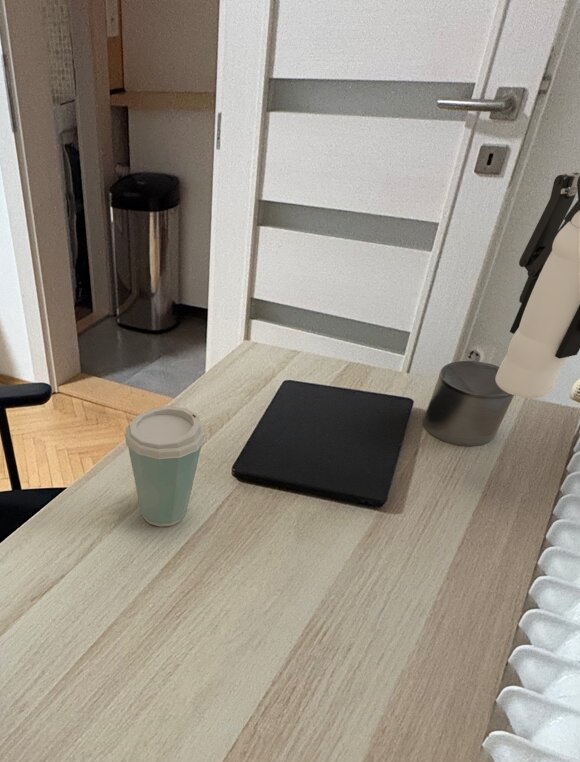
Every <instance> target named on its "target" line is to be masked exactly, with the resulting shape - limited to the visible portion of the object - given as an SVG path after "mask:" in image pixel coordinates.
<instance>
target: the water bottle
mask: <svg viewBox="0 0 580 762" xmlns="http://www.w3.org/2000/svg"><path fill="white" fill-rule="evenodd" d="M571 223H572V224H573V225H572V224H571ZM575 226H576V227H575ZM579 305H580V211H578V212H577V213H576V214H575V215H574V216H573V218H572V220H571V221H569V222H568V223H567V224H566V225H565V226H564V227H563V228H562V229H561V230H560V231H559V233H558V234H557V236H556V237H555V239H554V242H553V245H552V251H551V253H550V255H549V257H548V259H547V261H546V263H545V265H544V267H543V269H542V271H541V273H540V275H539V277H538V279H537V282H536V284H535V286H534V289H533V291H532V293H531V296H530V298H529V300H528V303H527V305H526V308H525V311H524V313H523V316H522V319H521V322H520V325H519V328H518V329H517V331H516V332H515V334H513V336H512V338H511V340H510V342H509V345H508V348H507V351H506V354H505V356H504V358H503V359H502V361H501V363H500V366H498V367H499V370H498V372H497V374H496V378H495V381H496V383H497V385H498V386H499V387H500V388H501V389H502V390H503V391H505V392H507V393H509V394H512V395H514V397H515V396H516V397H520V398H527V399H534V398H540V397H544V396H546V395H548V394H550V393H551V392H552V391H553V390H554V387H555V386H556V383H557V381H558V379H559V377H560V374H561V372H562V369H563V367H564V365H565V363H566V362H567V360H568V359H569V357H565V358H560V359H559V358H557V357H555V354H556V352H557V350H558V348H559V346H560V344H561V342H562V340H563V338H564V336H565V334H566V332H567V330H568V328H569V326H570V324H571V322H572V320H573V318H574V316H575V314H576V311H577V309H578V307H579Z"/></svg>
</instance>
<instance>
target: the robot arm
mask: <svg viewBox="0 0 580 762" xmlns="http://www.w3.org/2000/svg"><path fill="white" fill-rule="evenodd" d="M576 195H577V200H576V202H575V204H574V205H573V202H574V201H575V198H576ZM572 205H573V206H572ZM570 208H571V209H570ZM578 211H580V173H579V172H571V173H564V174H559V175H556V177H555V179H554V181H553V184H552V188H551V193H550V198H549V199H548V202H547V203H546V206H545V208H544V210H543V212H542V214H541V216H540V217H539V219H538V222H537V224H536V226H535V228H534V230H533V232H532V234H531V236H530V238H529V241H528V242H527V244H526V246H525V248H524V250H523V253H522V254H521V256H520V258H519V261H518V265H519V267H521V268H525V270H526V271H527V279H526V281H525V283H524V286H523V289H522V290H521V293H520V295H519V300H518V301H519V303H520V306H519V309H518V311H517V312H516V313H517V314H516V316H515V317H514V320H513V323H512V325H511V327H510V330H509V332H510V333H511V334H513V335H514V334H515V332H516V331H517V329H518V328H519V325H520V322H521V319H522V316H523V313H524V311H525V308H526V305H527V303H528V300H529V298H530V296H531V293H532V291H533V289H534V286H535V284H536V282H537V279H538V277H539V275H540V273H541V271H542V269H543V267H544V265H545V263H546V261H547V259H548V257H549V255H550V253H551V251H552V245H553V242H554V239H555V237H556V236H557V234H558V233H559V231H560V230H561V229H562V228H563V227H564V226H565V225H566V224H567V223H568V222H569V221H571V220H572V218H573V216H574V215H575V214H576V213H577V212H578ZM571 224H572V223H571ZM572 225H573V224H572ZM575 227H576V226H575ZM579 351H580V305H579V307H578V309H577V311H576V314H575V316H574V318H573V320H572V322H571V324H570V326H569V328H568V330H567V332H566V334H565V336H564V338H563V340H562V342H561V344H560V346H559V348H558V350H557V352H556V354H555V357H557V358H559V359H560V358H565V357H568V358H570V357H574V356H577V355H578V353H579Z"/></svg>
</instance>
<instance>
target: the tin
mask: <svg viewBox="0 0 580 762" xmlns="http://www.w3.org/2000/svg"><path fill="white" fill-rule="evenodd" d="M499 367H500V366H498V365H495V364H492V363H488V362H484V361H477V360H476V361H475V360H457V361H453V362H449V363H447V364H444V365H443V366H442V368H440V370H439V374H438V378H437V381H436V383H435V386H434V389H433V392H432V395H431V397H430V400H429V402H428V404H427V408H426V411H425V414H424V416H423V419H422V425H423V428H424V429H425V430H426V432H427V433H428V434H430V435H431V436H432V437H434V438H436V439H437V440H440V441H442V442H445V443H448V444H452V445H456V446H463V447H464V446H465V447H477V446H478V447H479V446H484V445H487V444H488V443H490V442H492V441H493V440H494V439H495V437H496V435H497V433H498V431H499V429H500V426H501V424H502V422H503V420H504V418H505V416H506V414H507V412H508V409H509V407H510V405H511V403H512V401H513V399H514V397H515V395H512V394H509V393H507V392H505V391H503V390H502V389H501V388H500V387H499V386H498V385H497V383H496V381H495V378H496V374H497V372H498V370H499Z"/></svg>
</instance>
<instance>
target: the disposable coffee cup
mask: <svg viewBox="0 0 580 762" xmlns="http://www.w3.org/2000/svg"><path fill="white" fill-rule="evenodd" d="M124 437H125V445H126V446H127V448H128V453H129V458H130V464H131V468H132V474H133V479H134V485H135V489H136V495H137V498H138V504H139V509H140V515H141V516H142V518H143V519H144V520H145V521H146V522H147V523H148V524H150V525H153V526H155V527H172V526H174V525H176V524H179V523H181V521H182V520H183V518H184V516H185V514H186V513H187V512H188V511H187V510H188V507H189V502H190V498H191V493H192V489H193V486H194V479H195V475H196V472H197V466H198V463H199V458H200V453H201V450H202V445H203V444H204V442H205V441H206V439H205V431H204V429H203V425H202V423H201V420H200V416H198V415H197V414H196V413H195V412H193V411H192V410H191V409H189V408H187V407H182V406H181V407H180V406H174V405H168V406H160V407H153V408H150V409H148V410H146V411H144V412H141V413H139V414H137V415H136V416H134V418H133V420H131V422H130V423H129V424H128V425H127V426H126V427H125V433H124Z"/></svg>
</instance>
